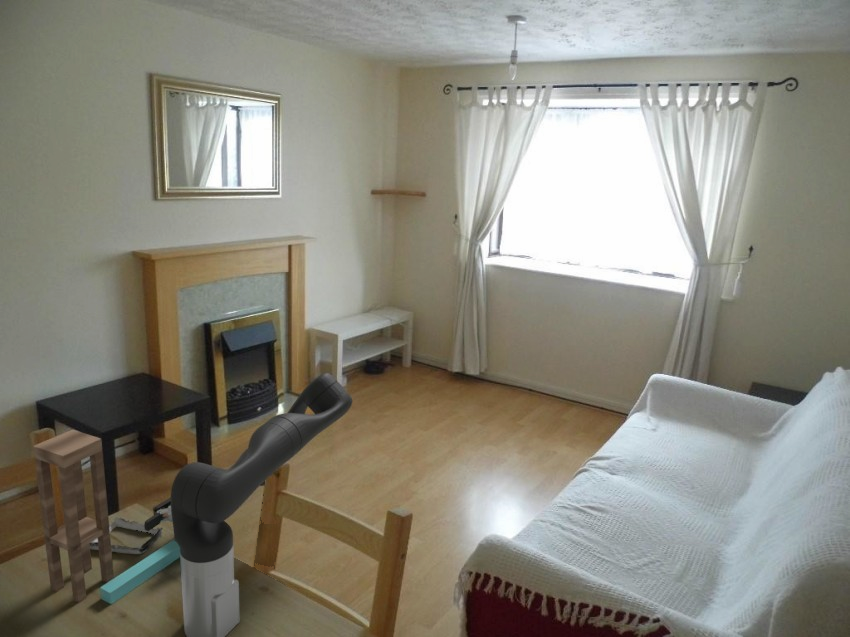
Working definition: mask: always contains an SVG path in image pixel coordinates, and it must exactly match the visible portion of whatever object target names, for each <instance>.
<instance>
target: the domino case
mask: <svg viewBox="0 0 850 637" xmlns="http://www.w3.org/2000/svg"><path fill="white" fill-rule="evenodd" d="M178 559H180V547H179V545H178V544H177V542H175V540H174V539H172V540H171V541H170V542H168V543H166V544H165V545H163V546H162V547H160V548H159V549H157V550H155V551H154V552H152V553H150V554H149V555H148V556H146V557H145V558H143V559H142V560H140V561H139V562H137V563H136V564H134V565H133V566H130V567H129V568H128V569H126V570H125V571H123V572H122V573H120V574H118V575H117V576H116V577H114V578H113V579H112V580H110V581H109V582H105V584H103V585H101V587H100V588H99V589H100V590H99V592H100V599H101V600H102V601H104V602H106V603H107V604H110V605H113V604H114V603H116V602H117V601H118V600H121V598H123V597H124V596H126V595H127V594H129V593H130V592H131V591H133V590H134V589H136V588H138V587H139V586H140V585H141V584H143V583H145V582H146V581H148V580H149V579H151V578H152V577H154V576H155V575H156V574H158V573H159V572H161V571H162V570H164V569H165V568H166V567H168V566H169V565H170V564H173V563H174V562H175V561H176V560H178Z"/></svg>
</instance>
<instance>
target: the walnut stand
mask: <svg viewBox="0 0 850 637" xmlns="http://www.w3.org/2000/svg"><path fill="white" fill-rule="evenodd" d="M33 453H34V462H35V470H36V479H37V488H38V494H39V503H40V511H41V518H42V527H43V535H44V544H45V551H46V559H47V568H48V576H49V583H50V584H49V585H50V590H51V591H52V592H53V591H54V592H55V593H57V592H59V591H60V590H62V589H64V588H65V585H64V584H65V583H64V576H63V567H62V558H61V552H60V548H61V549H64V550H66V551H67V555H68V556H67V557H68V564H69V565H68V566H69V574H70V575H69V576H70V582H71V589H72V590H71V593H72V600H73V601H74V602H76V603H81V602H82V601H84V600H85V599H87V589H86V582H85V573H88V572H89V571H90V570H92V569H93V565H92V554H91V548H90V544H89V543H90V542H92V541H94V540H95V539H97V538H98V547H99V550H98V557H99V567H100V568H99V569H100V576H101V581H103V582H105V583H108V582H109V581H111V580H113V579H114V578H115V576H114V565H113V563H114V562H113V554H112V553H113V552H112V551H111V545H112V542H111V541H112V540H111V532H110V529H109V524H110V521H109V520H110V519H109V510H108V499H107V489H106V488H107V487H106V486H107V485H106V477H105V466H104V463H105V462H104V453H103V443H102V438H100V437H98V436H93V435H91V434H89V433H85V432H82V431H78V430H75V429H71V430H68V431H66V432H63V433H61V434H58V435H56V436H54V437H52V438H49V439H47V440H43V441H42V442H40V443H37V444H35V445H33ZM87 458H89V463H90V464H89V465H90V474H91V483H92V484H91V485H92V494H93V503H94V506H93V507H94V514H95V515H94V516H95V519H94V518H91V517H89V516H88V515H87V506H86V504H87V503H86V494H85V486H84V478H83V477H84V475H83V468H82V466H83V465H82V461H83V460H85V459H87ZM51 465H54V466H57V467H58V475H59V485H60V494H61V503H62V504H61V505H62V510H63V520H64V523H63V524H62V525H59V527H58V524H57V516H56V508H55V499H54V490H53V483H52V482H53V481H52V474H51Z"/></svg>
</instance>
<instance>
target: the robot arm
mask: <svg viewBox="0 0 850 637" xmlns="http://www.w3.org/2000/svg"><path fill="white" fill-rule="evenodd" d="M352 405H353V397H352V396H351V395H350V393H349V392H348V391H347V390H346V389H345V387H344V386H342V384H341V383H340V382H339V381H338V380H337V379H336V378H335V376H333V375H332V374H331V373H329V372H324V373H321V374H319V375H318V376H316V378H314V379H313V380H311V382H309V384H307V385H306V387H305V388H304V389H303V391H301V393H300V394H299V395H298V397H297V398H296V399H295V401H294V402H293V403H292V405H291V406H290V408H289V409H288V410H287V412H286V413H285V412H284V413H280V414H277V415H275V416H273V417H271V418H269V420H267V421H266V422H264V423H262V425H259V427H258V428H256V430H254V431H253V432H252V434H251V436H250V438H249V442H248V447H247V448H246V449H245V450H244V451H243V452H242V453H241V455H240V456H239V457H238V459H237V460H236V462H234V464H233V465H232V466H230V467H229V468H228V469H224V468H222V467H218V466H214V465H211V464H208V463H204V462H199V461H194V462H189V463H187V464H186V465H184V466H183V467H182V468H181V469H180V470H179V471H178V473H177V474H176V476H175V477H174V480H173V482H172V485H171V490H170V497H169V498H167V499H164V501H162V502H160V503H158V504H157V505H155V506H153V507H152V511H153V515H152V516H151V517H149V518H148V519H146V520H145V521H144V527H145V530H146V531H149V530H151V529H152V528H153V529H155V527H157V526H159V525H160V524H161V523H163V522H167V521H169V522H172V527H173V534H174V538H173V540H175V542H177V544H178V545H179V547H180V557H179V559H180V572H181V573H180V576H181V577H180V578H181V592H182V596H181V597H182V611H183V612H182V614H183V630H184V634H185V635H186V637H226V636H227V635H228V634H229V633H230V632H231V631H232V630H233V629H234V628H235V627H236V626H237V625H239V623H240V621H241V620H240V618H241V616H240V588H239V586H240V584H239V582H240V581H239V580H238V579H236V578H235V570H234V569H235V563H234V562H235V561H234V557H235V556H234V555H235V554H234V553H235V552H234V534H233V529H232V527H231V525H230V524H229V523H227V521H225V520H228V519H229V518H231V516H232V515H233V514H235V512H236V511H237V510H239V509H240V507H242V505H243V504H244V503H245V502H246V501H247V500H248V499H249V498H250V497H251V496H252V494H254V493H255V491H257V489H258V488H259V487H263V486H266V485H265V480H266V479H267V478H268V477H269V476H271V475H272V474H273V473H274V472H275V471H276V470H277V469H278V468H279V469H280V468H281V467H283V465H284V464H286V463H288V462H289V461H290V460H291V459H292V458H293V457H294V456H296V455H297V454H298V453H300V451H301V450H302V449H303V448H304V447H305V446H307V445H308V444H309V443H310V442H311V441H312V440H313V439H314V438H315V437H316V436H318V435H319V434H321V433H322V432H323V431H325V430H326V429H327V428H328V427H330V426H331V425H333V424H334V423H335V422H337V421H338V420H340V419H342V417H343V416H344V415H345V414H347V413H348V411H349V410H350V409H351V407H352ZM308 408H309V409H310V410H311V412H313V414H307V413H306V411H307V409H308ZM166 514H168V515H166ZM164 515H165V516H164Z"/></svg>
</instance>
